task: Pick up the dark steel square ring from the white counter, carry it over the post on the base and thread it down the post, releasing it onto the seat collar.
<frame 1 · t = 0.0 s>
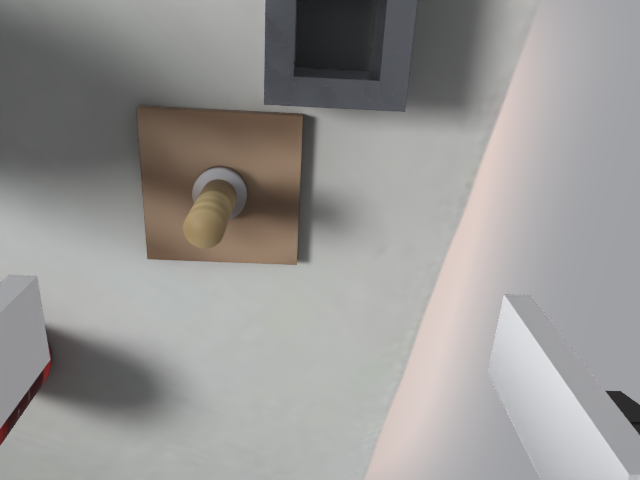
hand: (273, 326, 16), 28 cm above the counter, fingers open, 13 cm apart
ring: (334, 29, 39), on the counter
post: (223, 187, 43), on the counter
canned food: (10, 350, 49), on the counter
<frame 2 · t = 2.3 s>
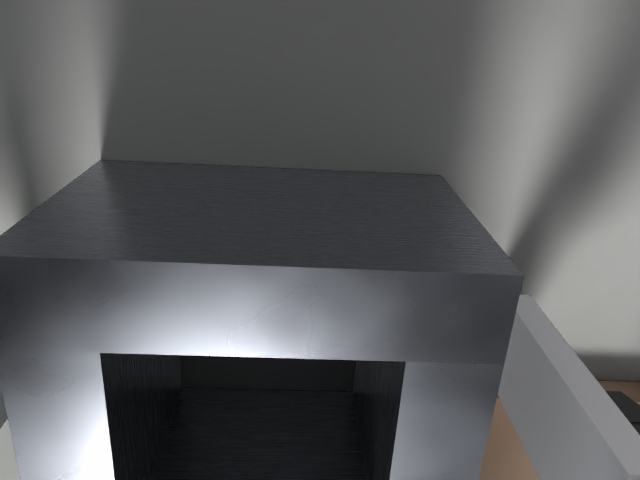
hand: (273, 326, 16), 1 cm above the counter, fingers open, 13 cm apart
ring: (269, 315, 16), on the counter
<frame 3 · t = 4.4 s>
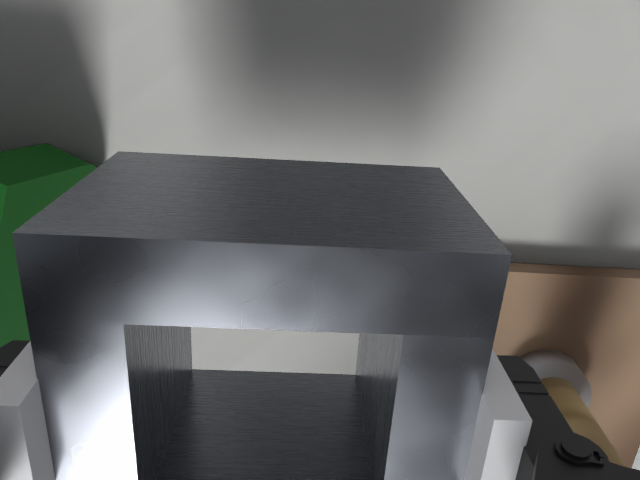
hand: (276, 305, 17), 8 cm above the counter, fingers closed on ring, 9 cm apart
clamp: (9, 237, 26), on the counter
ring: (276, 300, 17), point 8 cm above the counter, touching gripper
post: (532, 371, 28), on the counter
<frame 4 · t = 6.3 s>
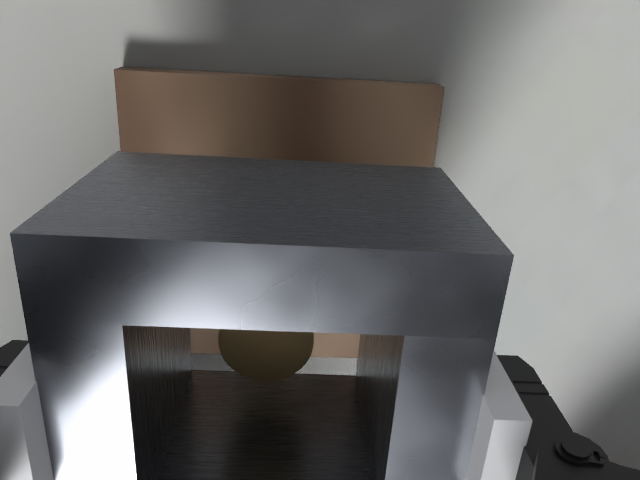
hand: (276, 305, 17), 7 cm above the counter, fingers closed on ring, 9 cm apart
ring: (276, 301, 17), point 7 cm above the counter, touching gripper
post: (278, 222, 23), on the counter
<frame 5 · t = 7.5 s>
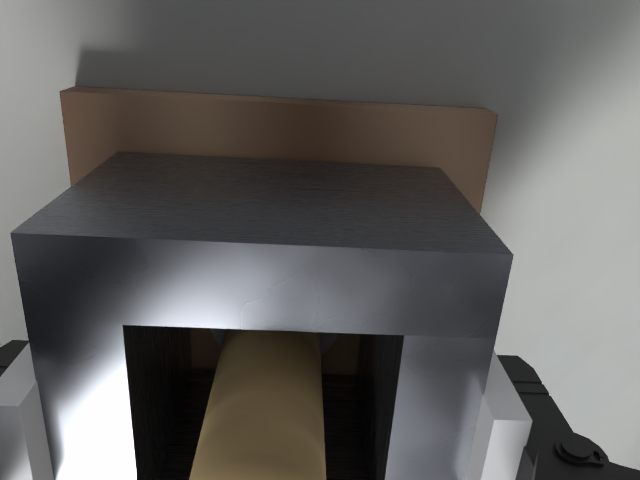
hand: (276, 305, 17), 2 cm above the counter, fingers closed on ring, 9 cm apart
ring: (276, 300, 17), point 1 cm above the counter, touching gripper
post: (278, 281, 18), on the counter
when the fingers open (1 cm above the counter, at t = 8.3 s): ring stays where it is, resting on post.
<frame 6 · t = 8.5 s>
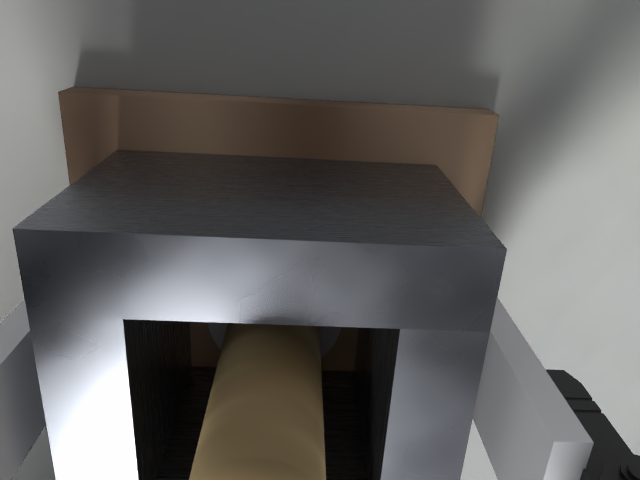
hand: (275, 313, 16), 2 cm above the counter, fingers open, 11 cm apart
ring: (275, 297, 17), point 1 cm above the counter, touching post
post: (278, 283, 18), on the counter
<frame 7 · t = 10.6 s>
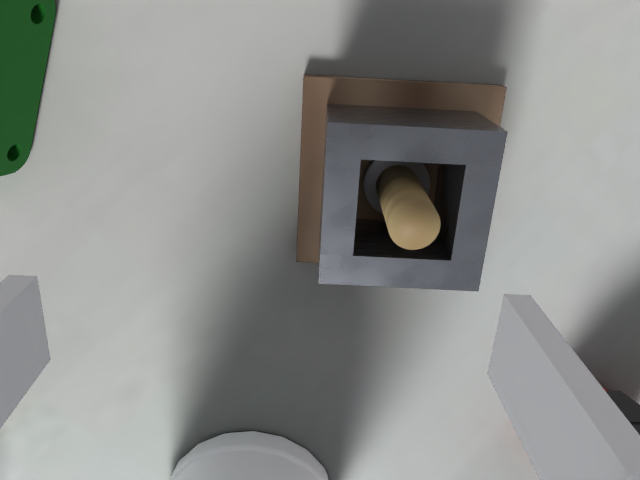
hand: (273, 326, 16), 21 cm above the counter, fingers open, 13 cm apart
ring: (394, 179, 35), point 1 cm above the counter, touching post
post: (392, 175, 36), on the counter
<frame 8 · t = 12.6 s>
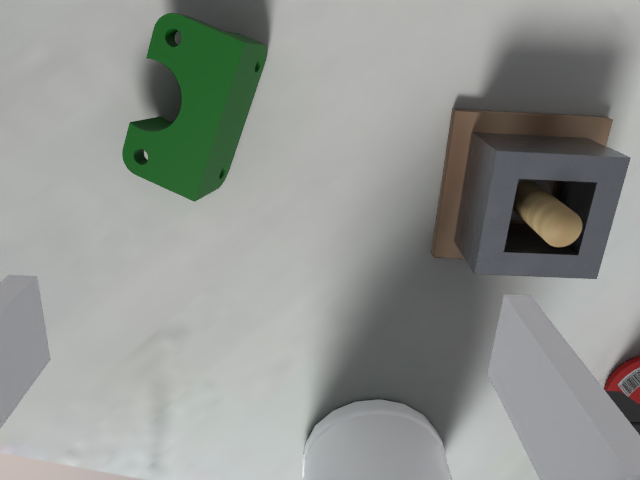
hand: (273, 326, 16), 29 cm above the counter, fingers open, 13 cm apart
clamp: (201, 100, 42), on the counter
bottle: (371, 450, 55), on the counter
ring: (518, 191, 44), point 1 cm above the counter, touching post
post: (514, 187, 45), on the counter
canned food: (639, 384, 53), on the counter
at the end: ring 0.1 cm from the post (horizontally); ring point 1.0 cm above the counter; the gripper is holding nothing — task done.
